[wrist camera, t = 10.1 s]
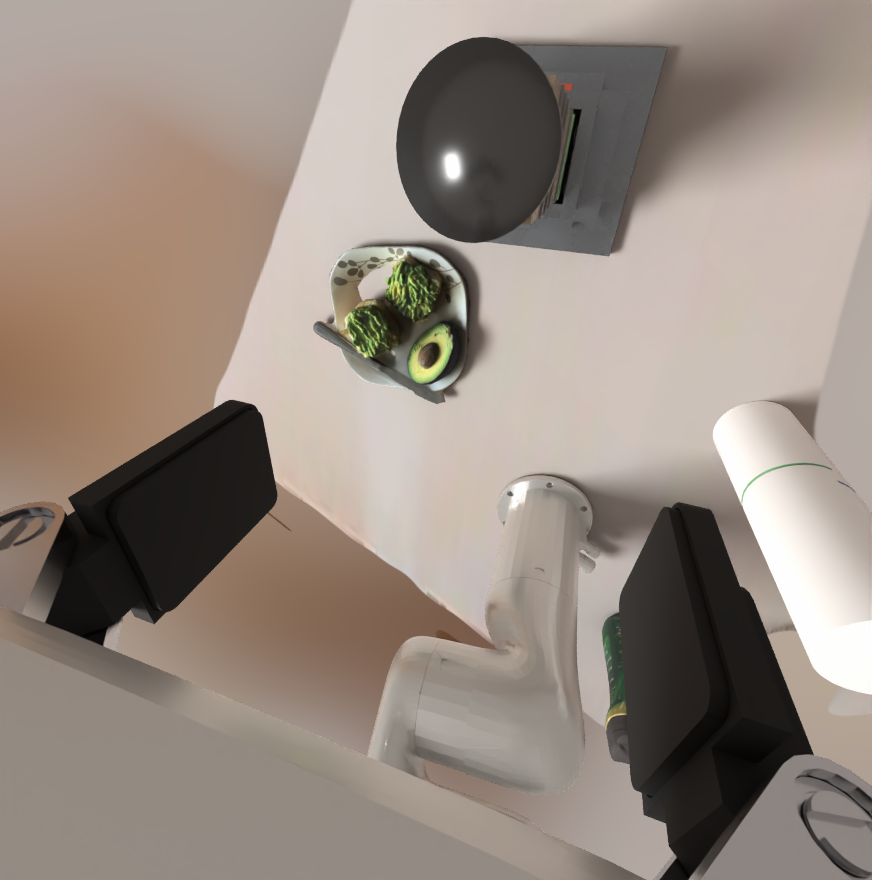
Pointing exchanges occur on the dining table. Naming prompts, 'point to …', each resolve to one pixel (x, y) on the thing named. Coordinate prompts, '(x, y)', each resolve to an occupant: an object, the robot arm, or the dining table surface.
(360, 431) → the dining table surface
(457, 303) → the salad plate
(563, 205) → the stand
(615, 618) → the coffee jar
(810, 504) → the cylindrical container
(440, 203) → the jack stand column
